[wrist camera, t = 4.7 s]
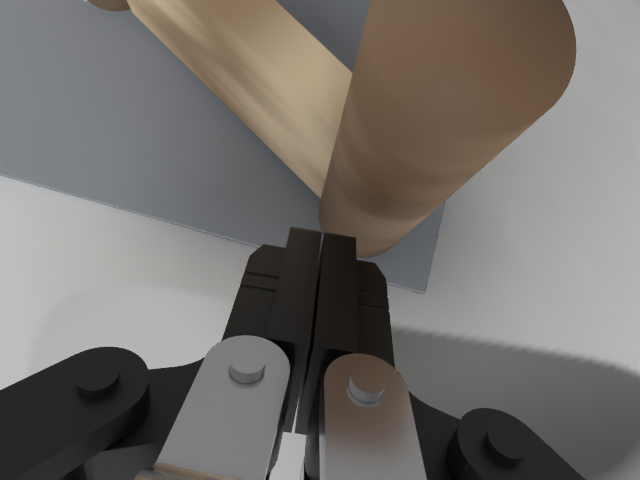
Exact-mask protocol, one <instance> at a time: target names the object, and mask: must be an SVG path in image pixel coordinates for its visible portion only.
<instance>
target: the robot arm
mask: <svg viewBox="0 0 640 480" xmlns="http://www.w3.org/2000/svg"><path fill="white" fill-rule="evenodd" d="M321 237H322V232H321V231H315V230H309V229H303V228H297V227H290V231H289V235H288V240H287V244H286V248H284V247H278V246H272V245H266V244H263V245H262V246H261V247H259V248H258V249H257V250H256V251H255V252H254V253H252V254H251V255H250V257H249V260H248V263H247V266H246V269H245V273H244V275H243V278H242V281H241V284H240V287H239V290H238V293H237V296H236V299H235V302H234V305H233V308H232V312H231V314H230V317H229V320H228V323H227V326H226V329H225V332H224V335H223V338H222V340H221V342H219V343H217V344H216V345H215V346H213V347H212V348H211V349H210V351H209V352H208V353H207V355H206V357H204V358H203V359H201V360H199V361H196V362H194V363H191V364H187V365H184V366H178V367H169V368H161V369H150V370H148V368H147V366H146V364H145V362H144V361H143V360H142V358H140V357H139V356H138V355H136V354H135V353H133V352H132V351H129V350H126V349H123V348H118V347H100V348H93V349H89V350H86V351H83V352H80V353H78V354H75V355H74V356H71V357H69V358H67V359H65V360H63V361H61V362H59V363H57V364H54V365H53V366H50V367H48V368H46V369H44V370H42V371H40V372H38V373H36V374H33V375H31V376H29V377H27V378H25V379H23V380H21V381H19V382H17V383H15V384H13V385H10V386H8V387H6V388H4V389H2V390H0V480H270V475H271V471H272V469H273V467H274V466H275V463H276V461H277V458H278V454H279V449H280V444H281V439H282V434H283V432H290V433H291V431H292V426H293V422H294V417H295V412H296V408H297V403H298V398H299V403H298V410H297V418H296V427H295V433H298V434H305V435H307V437H306V447H305V457H304V461H303V465H302V469H301V474H300V480H585V479H584V478H583V477H582V476H581V475H580V474H579V473H577V472H576V471H575V470H574V469H573V468H572V467H571V466H570V465H569V464H568V463H567V462H565V461H564V460H563V459H562V458H561V457H560V456H559V455H558V454H557V453H556V452H555V451H554V450H553V449H551V448H550V447H549V446H548V445H547V444H546V443H545V442H544V441H543V440H541V438H540V437H538V436H537V435H536V434H535V433H534V432H533V431H532V430H531V429H530V428H529V427H527V426H526V425H525V424H524V423H522V422H521V421H520V420H518V419H517V418H515V417H513V416H511V415H509V414H507V413H505V412H502V411H499V410H495V409H489V408H479V409H475V410H472V411H470V412H468V413H466V414H465V415H464V416H463V417H462V419H461V420H459V419H457V418H455V417H453V416H450V415H448V414H446V413H444V412H441V411H439V410H437V409H435V408H433V407H430V406H429V405H427V404H425V403H423V402H422V401H420V400H419V399H417V398H416V397H415V396H413V395H412V394H411V393H410V392H409V391H408V389H407V385H406V383H405V381H404V379H403V377H402V376H401V375H400V373H399V372H398V371H397V370H396V369H395V365H394V356H393V345H392V335H391V325H390V314H389V312H388V311H389V304H388V298H387V295H388V294H387V284H386V278H385V276H384V275H383V273H382V272H381V270H380V269H379V267H378V266H377V264H376V263H373V262H367V261H361V260H357V257H356V237H350V236H345V235H339V234H333V233H327V232H324V236H323V240H322V245H321ZM320 246H321V250H320Z"/></svg>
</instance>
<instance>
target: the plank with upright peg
mask: <svg viewBox="0 0 640 480" xmlns="http://www.w3.org/2000/svg"><path fill="white" fill-rule="evenodd" d="M127 2H128V4H129V6H130V8H131V10H132V13H133V14H134V15H135V16H136V17H137V18H138V19H139V20H140V21H141V22H142V23H143V24H144V25H145V26H146V27H147V28H148V29H149V30H150V31H151V32H152V33H153V34H154V35H155V36H156V37H157V38H158V39H160V40H161V41H162V42H163V43H164V44H165V45H166V46H167V47H168V48H169V49H170V50H171V51H172V52H173V53H174V54H175V55H176V56H177V57H178V58H179V59H180V60H181V61H182V62H183V63H184V64H185V65H186V66H187V67H188V68H189V69H190V70H191V71H192V72H193V73H194V74H195V75H196V76H197V77H198V78H199V79H200V80H201V81H202V82H203V83H204V84H205V85H206V86H207V87H208V88H209V89H210V90H211V91H212V92H213V93H214V94H215V95H216V96H217V97H218V98H219V99H220V100H221V101H222V102H223V103H224V104H225V105H226V106H227V107H228V108H229V109H230V110H231V111H232V112H233V113H234V114H235V115H236V116H237V117H238V118H239V119H240V120H241V121H242V122H243V123H244V124H245V125H246V126H247V127H248V128H249V129H250V130H251V131H252V132H253V133H254V134H255V135H256V136H257V137H259V138H260V139H261V140H262V141H263V142H264V143H265V144H266V145H267V146H268V147H269V148H270V149H271V150H272V151H273V152H274V153H275V154H276V155H277V156H278V157H279V158H280V159H281V160H282V161H283V162H284V163H285V164H286V165H287V166H288V167H289V168H290V169H291V170H292V171H293V172H294V173H295V174H296V175H297V176H298V177H299V178H300V179H301V180H302V181H303V182H304V183H305V184H306V185H307V186H308V187H309V188H310V189H311V190H312V191H313V192H314V193H315V194H316V195H317V196H318V197H319V198H320V204H319V209H318V218H319V224H320V227H321V230H322V232H323V234H324V232H327V233H333V234H339V235H345V236H350V237H356V257H360V258H367V257H374V256H377V255H380V254H382V253H384V252H386V251H387V250H389V249H390V248H391V247H392V246H394V245H395V244H396V243H397V242H398V241H399V240H400V239H402V238H403V237H404V236H405V235H406V234H407V233H408V232H410V231H411V230H412V229H413V228H414V227H415V226H416V225H418V224H419V223H420V222H421V221H422V220H423V219H424V218H426V217H427V216H428V215H429V214H430V213H431V212H432V211H434V210H435V209H436V208H437V207H438V206H439V205H440V204H442V203H443V202H444V201H445V200H446V199H447V198H448V197H450V196H451V195H452V194H453V193H454V192H455V191H456V190H458V189H459V188H460V187H461V186H462V185H463V184H464V183H466V182H467V181H468V180H469V179H470V178H471V177H472V176H474V175H475V174H476V173H477V172H478V171H479V170H480V169H482V168H483V167H484V166H485V165H486V164H487V163H488V162H490V161H491V160H492V159H493V158H494V157H495V156H496V155H498V154H499V153H500V152H501V151H502V150H503V149H504V148H506V147H507V146H508V145H509V144H510V143H511V142H513V141H514V140H515V139H516V138H517V137H518V136H519V135H521V134H522V133H523V132H524V131H525V130H526V129H527V128H529V127H530V126H531V125H532V124H533V123H534V122H535V121H537V120H538V119H539V118H540V117H541V116H542V115H543V114H545V113H546V112H547V111H548V110H549V109H550V108H551V107H552V106H554V104H555V103H556V102H557V101H558V100H559V98H560V97H561V96H562V94H563V93H564V91H565V89H566V88H567V86H568V84H569V82H570V79H571V77H572V74H573V70H574V66H575V59H576V38H575V33H574V28H573V24H572V21H571V18H570V15H569V13H568V11H567V9H566V7H565V5H564V3H563V1H562V0H371V3H370V6H369V10H368V14H367V18H366V22H365V26H364V30H363V34H362V38H361V42H360V46H359V50H358V54H357V58H356V62H355V65H354V69H353V73H352V72H351V71H350V70H349V69H348V68H347V67H346V66H345V65H343V64H342V63H341V62H340V61H339V60H338V59H337V58H336V57H335V56H334V55H333V54H332V53H331V52H330V51H329V50H328V49H326V48H325V47H324V46H323V45H322V44H321V43H320V42H319V41H318V40H317V39H316V38H315V37H314V36H313V35H312V34H311V33H310V32H308V31H307V30H306V29H305V28H304V27H303V26H302V25H301V24H300V23H299V22H298V21H297V20H296V19H295V18H294V17H293V16H292V15H290V14H289V13H288V12H287V11H286V10H285V9H284V8H283V7H282V6H281V5H280V4H279V3H278V2H277V1H276V0H127Z"/></svg>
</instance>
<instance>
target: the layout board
mask: <svg viewBox="0 0 640 480" xmlns="http://www.w3.org/2000/svg"><path fill="white" fill-rule="evenodd" d="M276 1H277V2H278V3H279V4H280V5H281V6H282V7H283V8H284V9H285V10H286V11H287V12H288V13H289V14H290V15H292V16H293V17H294V18H295V19H296V20H297V21H298V22H299V23H300V24H301V25H302V26H303V27H304V28H305V29H306V30H307V31H308V32H310V33H311V34H312V35H313V36H314V37H315V38H316V39H317V40H318V41H319V42H320V43H321V44H322V45H323V46H324V47H325V48H326V49H328V50H329V51H330V52H331V53H332V54H333V55H334V56H335V57H336V58H337V59H338V60H339V61H340V62H341V63H342V64H343V65H345V66H346V67H347V68H348V69H349V70H350V71H351V72H352V73H353V69H354V65H355V62H356V58H357V54H358V50H359V46H360V42H361V38H362V34H363V30H364V26H365V22H366V18H367V14H368V10H369V6H370V3H371V0H276ZM0 175H1V176H5V177H9V178H12V179H16V180H19V181H23V182H26V183H30V184H33V185H37V186H41V187H44V188H48V189H51V190H55V191H58V192H62V193H66V194H69V195H73V196H76V197H80V198H83V199H87V200H90V201H94V202H98V203H101V204H105V205H108V206H112V207H115V208H119V209H122V210H126V211H130V212H133V213H137V214H140V215H144V216H147V217H151V218H155V219H158V220H162V221H165V222H169V223H172V224H176V225H179V226H183V227H187V228H190V229H194V230H197V231H201V232H204V233H208V234H211V235H215V236H219V237H222V238H226V239H229V240H233V241H236V242H240V243H244V244H247V245H251V246H254V247H258V248H259V247H261V246H262V245H263V244H266V245H272V246H278V247H284V248H286V244H287V240H288V235H289V231H290V227H297V228H303V229H309V230H315V231H321V232H322V230H321V227H320V224H319V218H318V209H319V204H320V198H319V197H318V196H317V195H316V194H315V193H314V192H313V191H312V190H311V189H310V188H309V187H308V186H307V185H306V184H305V183H304V182H303V181H302V180H301V179H300V178H299V177H298V176H297V175H296V174H295V173H294V172H293V171H292V170H291V169H290V168H289V167H288V166H287V165H286V164H285V163H284V162H283V161H282V160H281V159H280V158H279V157H278V156H277V155H276V154H275V153H274V152H273V151H272V150H271V149H270V148H269V147H268V146H267V145H266V144H265V143H264V142H263V141H262V140H261V139H260V138H259V137H257V136H256V135H255V134H254V133H253V132H252V131H251V130H250V129H249V128H248V127H247V126H246V125H245V124H244V123H243V122H242V121H241V120H240V119H239V118H238V117H237V116H236V115H235V114H234V113H233V112H232V111H231V110H230V109H229V108H228V107H227V106H226V105H225V104H224V103H223V102H222V101H221V100H220V99H219V98H218V97H217V96H216V95H215V94H214V93H213V92H212V91H211V90H210V89H209V88H208V87H207V86H206V85H205V84H204V83H203V82H202V81H201V80H200V79H199V78H198V77H197V76H196V75H195V74H194V73H193V72H192V71H191V70H190V69H189V68H188V67H187V66H186V65H185V64H184V63H183V62H182V61H181V60H180V59H179V58H178V57H177V56H176V55H175V54H174V53H173V52H172V51H171V50H170V49H169V48H168V47H167V46H166V45H165V44H164V43H163V42H162V41H161V40H160V39H158V38H157V37H156V36H155V35H154V34H153V33H152V32H151V31H150V30H149V29H148V28H147V27H146V26H145V25H144V24H143V23H142V22H141V21H140V20H139V19H138V18H137V17H136V16H135V15H134V14H133V13H132V10H131V8H130V6H129V4H128V2H127V0H0ZM444 203H445V201H444V202H443V203H442V204H440V205H439V206H438V207H437V208H436V209H435V210H434V211H432V212H431V213H430V214H429V215H428V216H427V217H426V218H424V219H423V220H422V221H421V222H420V223H419V224H418V225H416V226H415V227H414V228H413V229H412V230H411V231H410V232H408V233H407V234H406V235H405V236H404V237H403V238H402V239H400V240H399V241H398V242H397V243H396V244H395V245H394V246H392V247H391V248H390V249H389V250H387V251H386V252H384V253H382V254H380V255H377V256H374V257H367V258H360V257H357V260H361V261H367V262H373V263H376V264H377V266H378V267H379V269H380V270H381V272H382V273H383V275H384V276H385V278H386V284H389V285H393V286H397V287H400V288H404V289H407V290H411V291H414V292H418V293H424V292H425V290H426V286H427V281H428V276H429V272H430V267H431V263H432V258H433V254H434V249H435V244H436V240H437V235H438V231H439V226H440V222H441V217H442V213H443V208H444ZM323 236H324V234H323V232H322V237H321V245H322V240H323ZM320 250H321V246H320Z"/></svg>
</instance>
